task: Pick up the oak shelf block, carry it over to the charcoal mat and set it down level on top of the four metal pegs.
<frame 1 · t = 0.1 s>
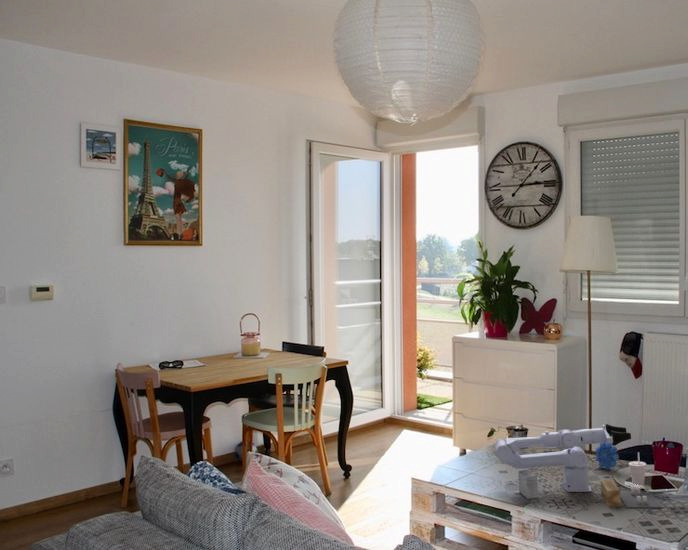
hand: (628, 433, 282), 22 cm above the table, tool horizontal, fingers open, 7 cm apart
peg base: (638, 500, 270), on the table
grapes: (608, 469, 307), on the table
medicine box: (528, 495, 282), on the table
oak block: (610, 500, 272), on the table
smoothie: (638, 488, 283), on the table
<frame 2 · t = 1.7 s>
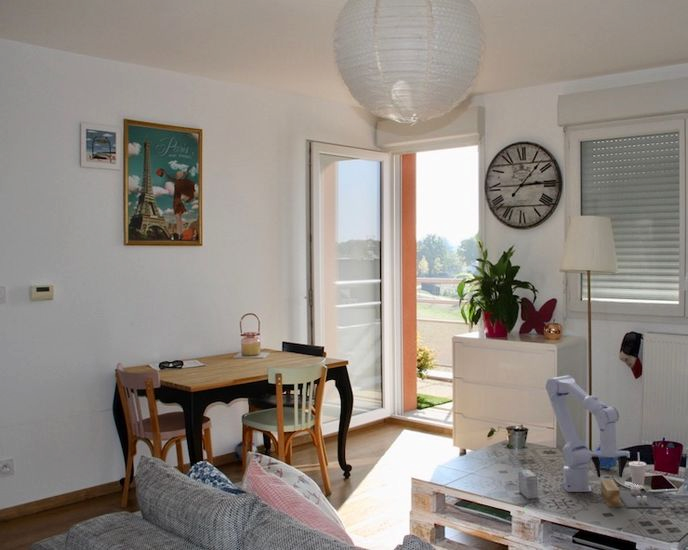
hand: (609, 476, 271), 9 cm above the table, tool pointing down, fingers open, 7 cm apart
nothing on the table moved.
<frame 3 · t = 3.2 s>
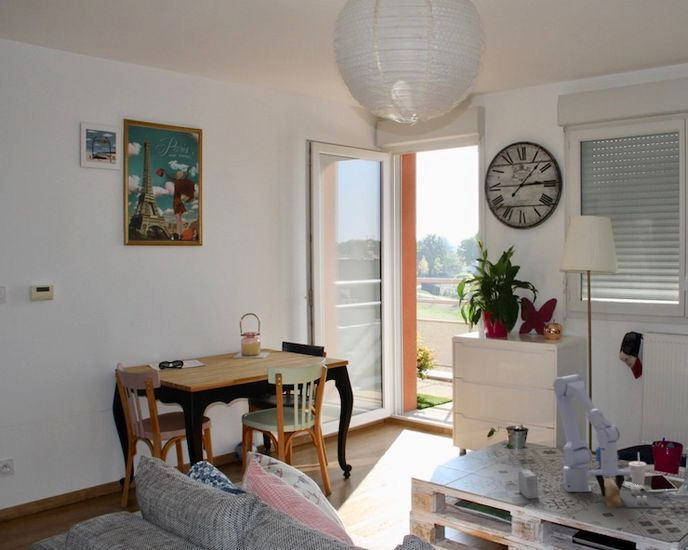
hand: (610, 495, 272), 2 cm above the table, tool pointing down, fingers closed on oak block, 4 cm apart
oak block: (610, 500, 272), on the table, touching gripper
everything else where it was.
when the fingers open (6 cm above the table, at t = 7.8 s): oak block stays where it is, resting on peg base.
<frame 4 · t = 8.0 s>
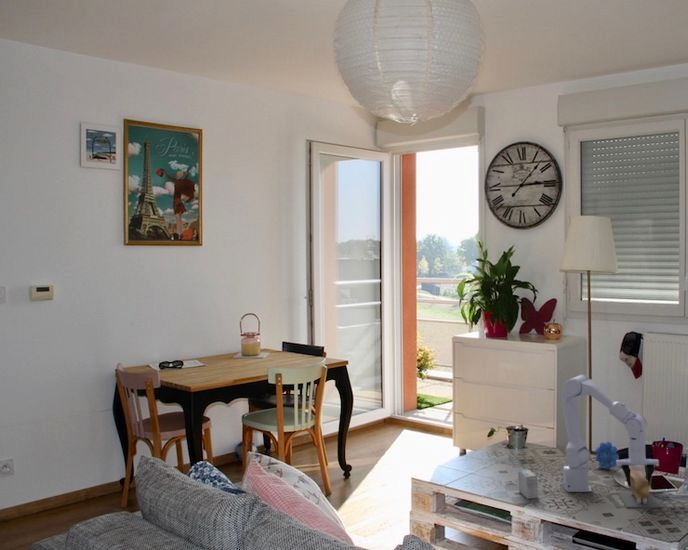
hand: (638, 485, 270), 6 cm above the table, tool pointing down, fingers open, 6 cm apart
oak block: (638, 492, 270), point 3 cm above the table, touching peg base
everything else where it was.
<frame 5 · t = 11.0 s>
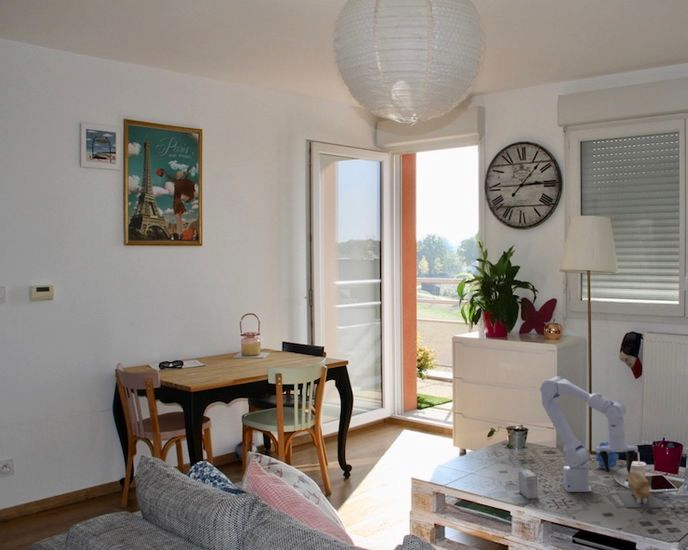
hand: (617, 471, 276), 9 cm above the table, tool pointing down, fingers open, 7 cm apart
nothing on the table moved.
at the end: oak block 0.1 cm off-centre on the peg base, point 3.0 cm above the peg base's base; oak block tilted 0°; the gripper is holding nothing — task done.
